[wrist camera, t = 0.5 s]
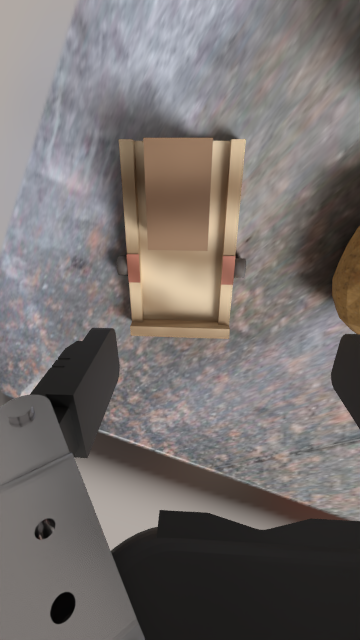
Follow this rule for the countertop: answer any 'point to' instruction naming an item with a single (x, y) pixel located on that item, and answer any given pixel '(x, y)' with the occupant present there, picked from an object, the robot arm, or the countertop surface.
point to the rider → (178, 192)
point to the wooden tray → (183, 253)
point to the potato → (348, 284)
